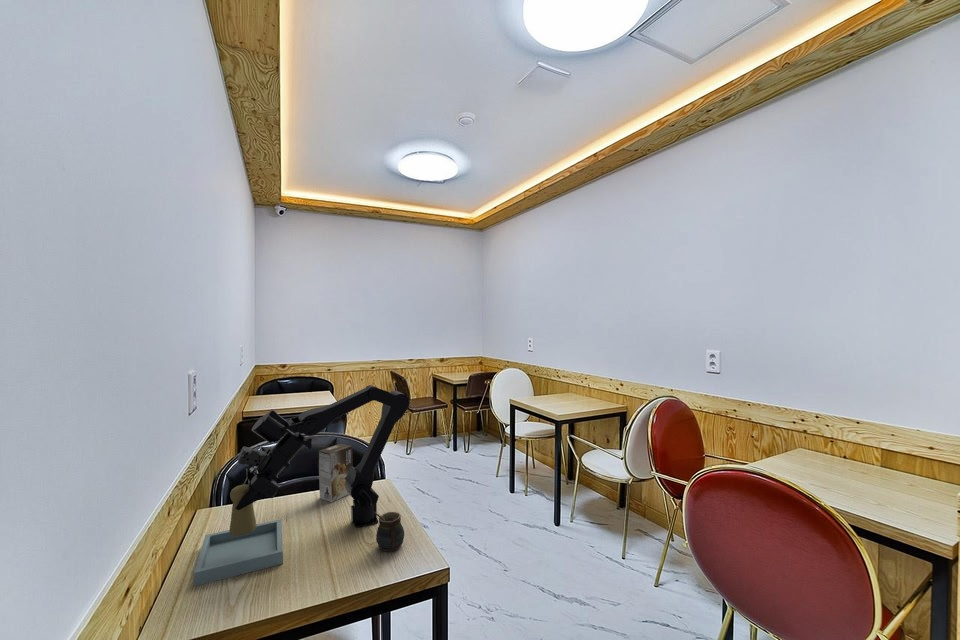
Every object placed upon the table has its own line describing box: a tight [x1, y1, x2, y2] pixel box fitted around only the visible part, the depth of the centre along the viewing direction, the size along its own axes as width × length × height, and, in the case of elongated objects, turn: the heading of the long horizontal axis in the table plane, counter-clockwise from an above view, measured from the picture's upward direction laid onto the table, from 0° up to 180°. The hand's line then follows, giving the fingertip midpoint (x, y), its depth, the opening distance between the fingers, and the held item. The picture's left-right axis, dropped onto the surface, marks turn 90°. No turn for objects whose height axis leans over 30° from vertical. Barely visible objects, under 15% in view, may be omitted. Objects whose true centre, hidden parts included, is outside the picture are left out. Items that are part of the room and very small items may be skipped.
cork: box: [229, 483, 257, 536], centre depth 105 cm, size 6×6×11 cm
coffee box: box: [318, 443, 354, 503], centre depth 139 cm, size 9×6×16 cm
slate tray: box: [193, 518, 284, 587], centre depth 105 cm, size 18×18×3 cm
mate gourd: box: [374, 511, 405, 552], centre depth 108 cm, size 7×8×10 cm
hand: (236, 505), depth 104 cm, fingers closed on cork, 5 cm apart
